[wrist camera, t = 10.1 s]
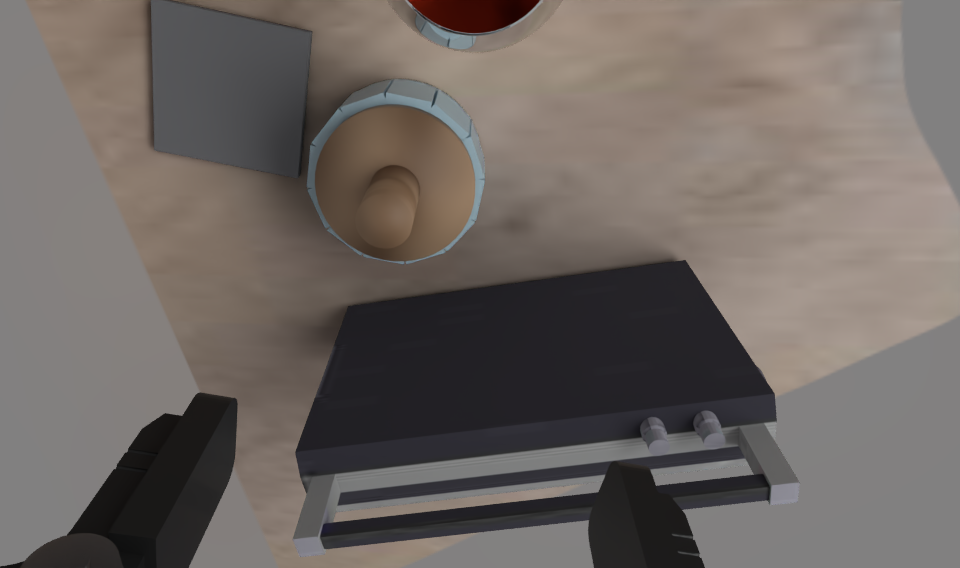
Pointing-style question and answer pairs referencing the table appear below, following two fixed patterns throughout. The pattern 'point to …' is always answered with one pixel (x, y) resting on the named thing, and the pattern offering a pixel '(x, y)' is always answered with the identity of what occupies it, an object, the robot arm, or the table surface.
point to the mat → (229, 87)
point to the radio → (532, 405)
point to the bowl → (415, 97)
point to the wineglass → (474, 21)
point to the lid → (395, 183)
